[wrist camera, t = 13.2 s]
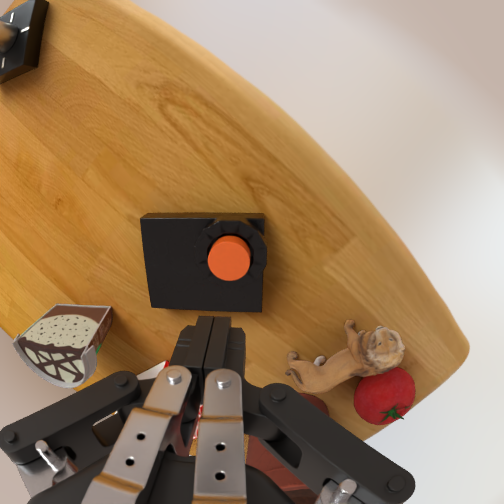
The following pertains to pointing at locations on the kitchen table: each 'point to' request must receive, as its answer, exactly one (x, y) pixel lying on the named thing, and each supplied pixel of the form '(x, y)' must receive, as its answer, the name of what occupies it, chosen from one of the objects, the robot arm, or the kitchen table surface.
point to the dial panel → (24, 39)
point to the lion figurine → (350, 359)
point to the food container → (65, 343)
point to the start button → (229, 258)
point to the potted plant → (276, 470)
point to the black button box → (201, 261)
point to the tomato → (384, 396)
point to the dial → (7, 36)
